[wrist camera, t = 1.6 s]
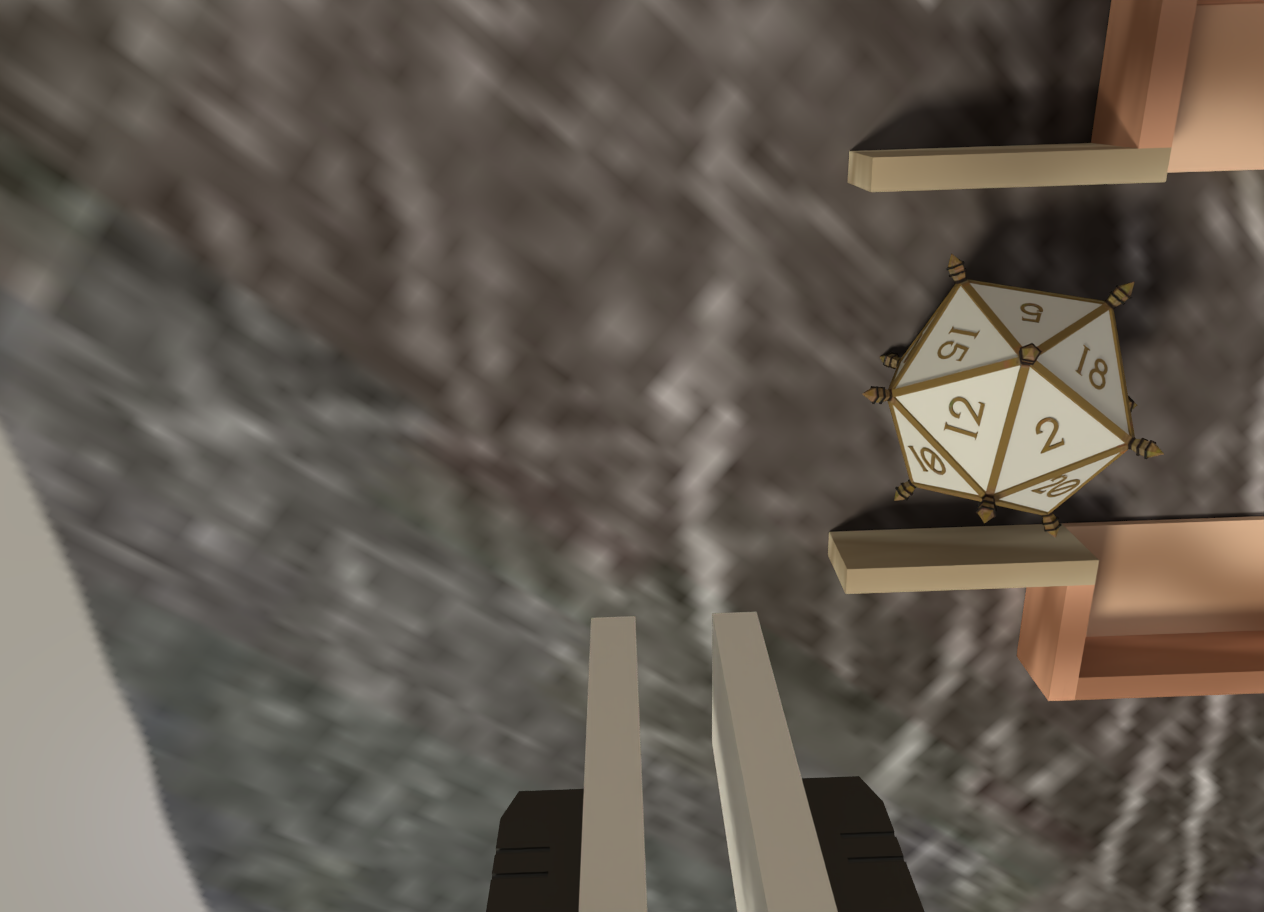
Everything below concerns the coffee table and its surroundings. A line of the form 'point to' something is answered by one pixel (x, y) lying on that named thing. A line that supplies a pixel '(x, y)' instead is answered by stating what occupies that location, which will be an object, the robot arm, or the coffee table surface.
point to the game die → (1012, 397)
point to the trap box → (1122, 550)
